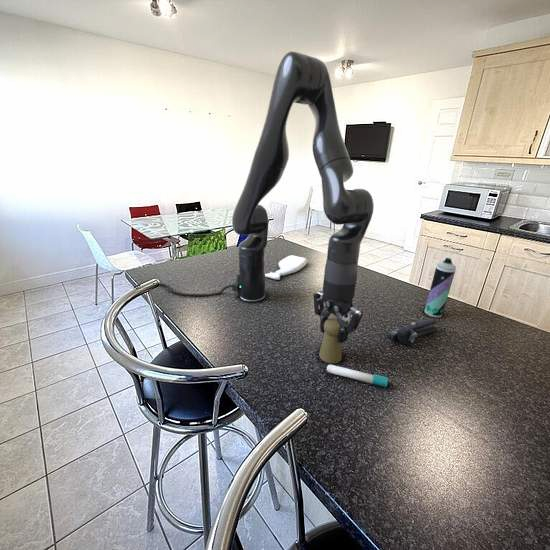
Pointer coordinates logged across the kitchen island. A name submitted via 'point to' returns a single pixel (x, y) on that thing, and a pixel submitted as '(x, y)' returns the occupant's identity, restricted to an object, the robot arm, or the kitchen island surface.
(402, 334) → the can opener
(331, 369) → the marker
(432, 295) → the spray can
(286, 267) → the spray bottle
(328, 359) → the cork
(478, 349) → the kitchen island surface
